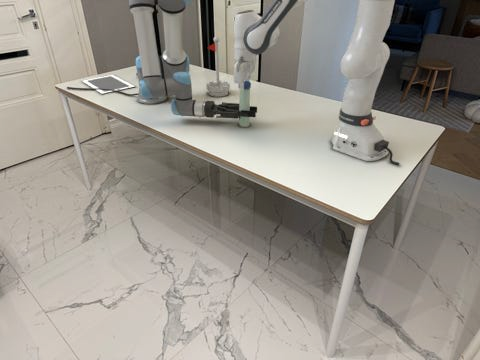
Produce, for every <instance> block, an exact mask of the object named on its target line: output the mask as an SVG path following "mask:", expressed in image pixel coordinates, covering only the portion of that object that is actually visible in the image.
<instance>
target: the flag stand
mask: <svg viewBox="0 0 480 360" xmlns="http://www.w3.org/2000/svg"><path fill="white" fill-rule="evenodd" d="M219 42H220V38H219V37H218V36H214V37H213V43H212V44H211V45H209V46H208V47H207V49H208V50H211V51H213V52H214V53H215V74H216V75H215V76H216V82H214V81H213V80H211V81H208V82H207V83H206V84H205V85H206V87H205V88H206V90H207V91H208V95H209V96H211V97H216V98H217V97H225V96H227V95H228V94H229V90H230V88H231V83H230V82H228V81H227V80H224V81H223V82H222V80H220V64H219V63H220V61H219Z"/></svg>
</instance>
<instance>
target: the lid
mask: <svg viewBox="0 0 480 360" xmlns="http://www.w3.org/2000/svg"><path fill="white" fill-rule="evenodd" d="M237 85H238V87H237V88H238V89H239V88H240V86H239V83H237ZM244 86H245V89H249V88H250V89H251V88H252V83H251V81H249V82H248V81H244Z"/></svg>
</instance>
